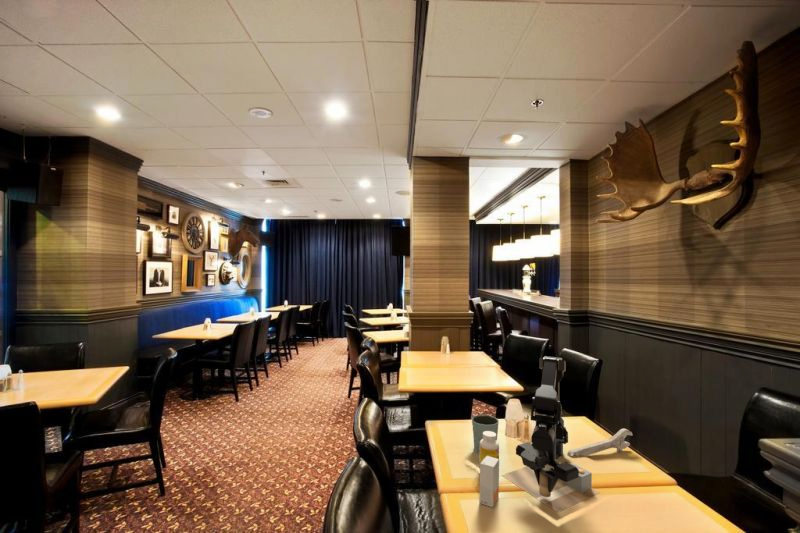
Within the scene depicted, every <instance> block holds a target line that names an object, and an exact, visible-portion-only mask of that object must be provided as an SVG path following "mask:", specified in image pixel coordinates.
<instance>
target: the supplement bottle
mask: <svg viewBox="0 0 800 533" xmlns="http://www.w3.org/2000/svg"><path fill="white" fill-rule="evenodd" d="M486 456H490V457H493V458H497V459H499V460H500V443H499V441H498V440H497V441H496V433H494V432H491V431H484V432H483V439H482V440H481V441H480V452H479V462H478V464H479V467H478V468H479V469H480V463H481V462H482V461H483V459H484V458H485V457H486Z"/></svg>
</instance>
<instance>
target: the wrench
mask: <svg viewBox="0 0 800 533" xmlns="http://www.w3.org/2000/svg"><path fill="white" fill-rule="evenodd" d="M627 436H633V432H632V431H630V430H629V429H627V428H621V429H619V430H618V431H617V432H616V433H615V434H614V435H612V436H611V437H610V438H608V439H604V440H601V441H597V442H595V443H590V444H587V445H583V446H580V447H576V448H574V449H570V450H568V452H567V456H568V457H570V458H571V457H572V455H574V456H576V457H577V456H583V457H586V456H590V455H593V454H594V455H595V454H597V453H600V452H602V451H606V450H609V449H616V451H617V452H621V453H623V450H624V449H626V448H628V447H629V446H630V445H631V443H630V442H628V441H625V438H626V437H627Z"/></svg>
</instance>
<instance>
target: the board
mask: <svg viewBox="0 0 800 533" xmlns="http://www.w3.org/2000/svg"><path fill="white" fill-rule="evenodd" d="M545 468H546V469H548V470H550V466H548V465H546V466H545ZM501 477H503V478H505V479H506V480H508V481H510V482H511V483H512V484H514V485H515V486H517V487H519V488H520V489H522V490H523V492H526V493H527V494H529V495H530V496H532V497H534V498H535V499H536V500H538V501H540V502H541V503H543V504H544V505H546V506H547V507H548V508H550V509H552V510H553V511H555V512H556V513H560V512H562V511H564V510H566V509H568V508H570V507H573V506H575V505H578V504H579V503H581V502H583V501H585V500H587V499H591V498H592V497H594V496H597V495H598V494H601V492H600V491H598V490H596V489H595V488H593V487H592V489H590V490H588V491H585V492H583V493H580V492H579V491H577V490H575V489H573V488H572V487H570V486H568V485H566V484H565V483H563V482H562V480H561V479H558V481H557V483H556V485H555V486H554V488H553V490H552V492H551V496H550V497H544V496H541V495H540V493H539V485H538V482H537V479H536V476H535V473H534V470H532V469H530V468H529V467H527V466H525V467H521V468H519V469H516V470H513V471H510V472H507V473H504V474H502V475H501Z"/></svg>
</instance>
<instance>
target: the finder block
mask: <svg viewBox="0 0 800 533" xmlns="http://www.w3.org/2000/svg"><path fill="white" fill-rule="evenodd" d="M570 464H571V465H573V466H575V467H577V468H578V471H579V477H578V478H575V479H573V480H571V481H568V482H564V481H562V482H563V483H565V484H566V485H568V486H570V487H572V488H573V489H575V490H577V491H579V492H580V493H583V492H585V491H588V490H590V489H592V488H593V487H592V480H593V478H592V476H593V474H592V472H590V471H589V470H587V469H585V468H583V467H581V466H579V465H577V464H575V463H572V462H571V463H570Z"/></svg>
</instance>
